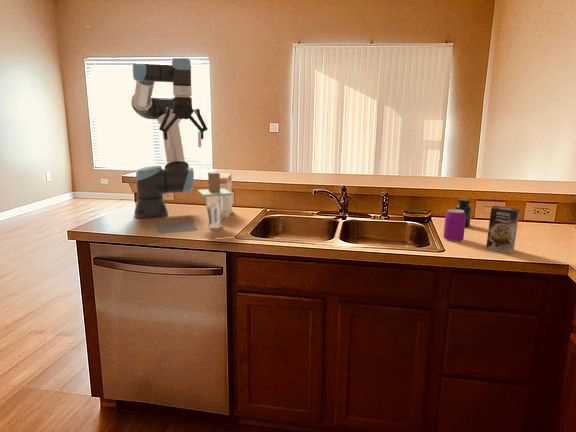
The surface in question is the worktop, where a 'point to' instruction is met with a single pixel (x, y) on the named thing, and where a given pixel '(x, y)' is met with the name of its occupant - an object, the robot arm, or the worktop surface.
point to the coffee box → (502, 228)
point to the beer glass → (214, 211)
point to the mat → (175, 227)
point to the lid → (214, 187)
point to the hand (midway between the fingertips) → (184, 147)
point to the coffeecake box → (227, 200)
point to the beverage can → (454, 225)
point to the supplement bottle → (465, 209)
